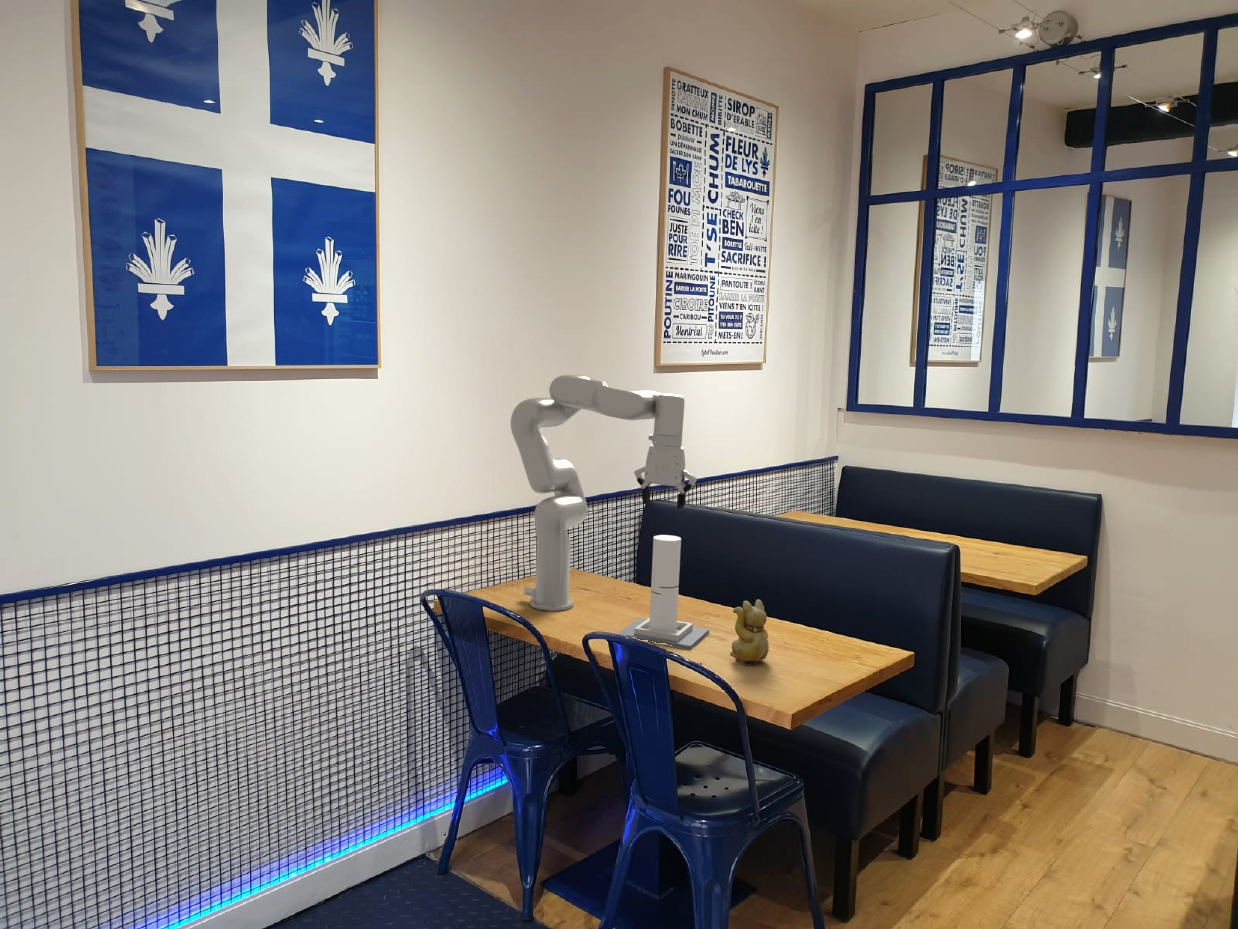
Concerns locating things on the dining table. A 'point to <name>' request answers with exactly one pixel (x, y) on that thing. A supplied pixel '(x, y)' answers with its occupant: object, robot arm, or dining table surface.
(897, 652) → the dining table surface
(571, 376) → the robot arm
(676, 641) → the collar board
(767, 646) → the decorative figurine
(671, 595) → the cylindrical container
